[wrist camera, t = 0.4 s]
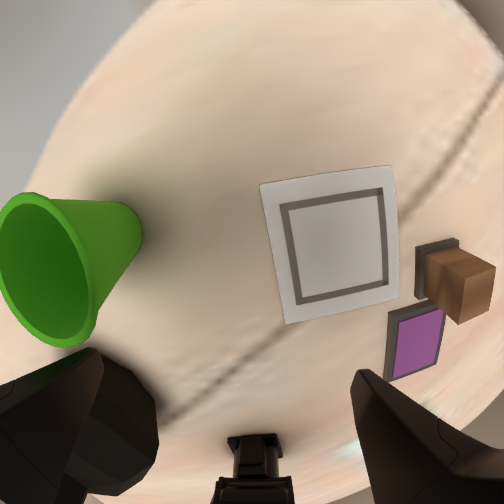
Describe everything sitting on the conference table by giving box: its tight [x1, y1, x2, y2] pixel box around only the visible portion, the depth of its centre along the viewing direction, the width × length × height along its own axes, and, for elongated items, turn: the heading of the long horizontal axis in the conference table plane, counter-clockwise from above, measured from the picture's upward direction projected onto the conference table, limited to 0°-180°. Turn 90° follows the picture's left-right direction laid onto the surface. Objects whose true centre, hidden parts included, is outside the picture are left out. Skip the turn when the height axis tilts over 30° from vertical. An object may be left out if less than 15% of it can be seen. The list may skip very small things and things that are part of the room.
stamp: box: [414, 238, 496, 325], centre depth 18 cm, size 5×5×7 cm
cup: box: [0, 192, 142, 348], centre depth 16 cm, size 9×9×11 cm
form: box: [259, 165, 400, 324], centre depth 21 cm, size 12×11×1 cm
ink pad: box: [383, 300, 446, 382], centre depth 24 cm, size 9×7×1 cm
